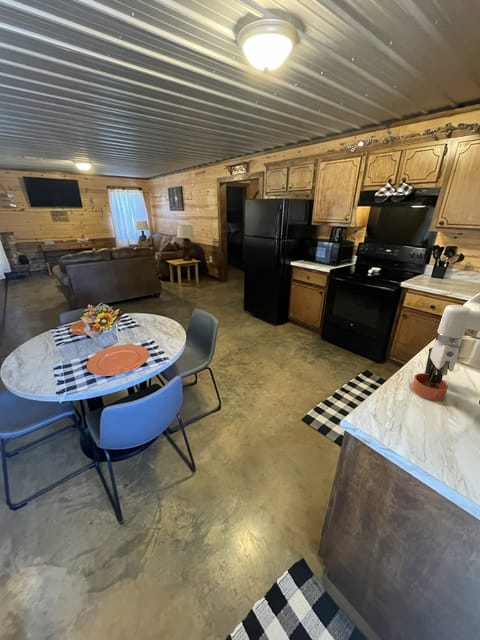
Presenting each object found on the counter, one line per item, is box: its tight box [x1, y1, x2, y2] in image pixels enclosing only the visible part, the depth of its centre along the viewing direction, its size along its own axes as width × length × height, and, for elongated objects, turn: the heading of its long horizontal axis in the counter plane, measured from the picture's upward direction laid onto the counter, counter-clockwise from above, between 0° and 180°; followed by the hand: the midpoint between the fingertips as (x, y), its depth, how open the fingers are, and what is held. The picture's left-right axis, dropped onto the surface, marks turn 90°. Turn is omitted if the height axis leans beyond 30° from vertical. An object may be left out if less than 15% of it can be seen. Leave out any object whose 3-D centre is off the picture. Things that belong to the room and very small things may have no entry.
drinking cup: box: [424, 347, 442, 374], centre depth 109 cm, size 8×8×20 cm
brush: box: [424, 367, 441, 389], centre depth 103 cm, size 5×5×11 cm
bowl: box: [411, 372, 449, 402], centre depth 105 cm, size 11×11×5 cm
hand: (433, 380), depth 102 cm, fingers closed on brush
